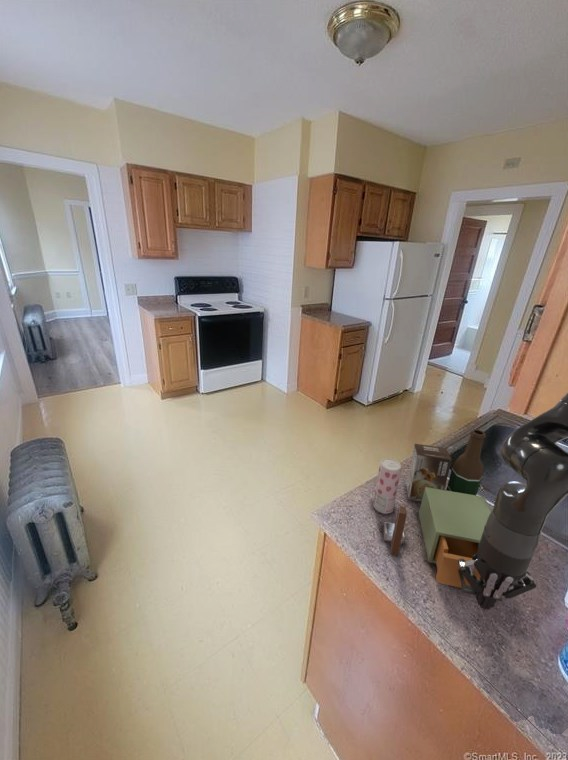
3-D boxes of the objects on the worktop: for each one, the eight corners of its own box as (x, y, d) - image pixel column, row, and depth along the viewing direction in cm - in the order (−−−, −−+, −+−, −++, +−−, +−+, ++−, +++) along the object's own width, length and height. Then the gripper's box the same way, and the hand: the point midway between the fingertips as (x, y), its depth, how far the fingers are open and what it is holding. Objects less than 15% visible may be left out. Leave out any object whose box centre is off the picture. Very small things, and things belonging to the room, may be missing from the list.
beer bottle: (457, 490, 100) (476, 422, 91) (479, 507, 93) (502, 436, 84) (438, 496, 97) (456, 427, 88) (459, 514, 91) (481, 442, 82)
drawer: (513, 620, 64) (525, 593, 61) (441, 603, 67) (449, 577, 64) (481, 541, 81) (489, 518, 78) (425, 531, 84) (431, 507, 81)
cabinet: (496, 576, 73) (508, 545, 70) (428, 562, 76) (436, 532, 73) (475, 524, 87) (484, 496, 84) (418, 514, 90) (425, 486, 87)
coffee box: (436, 491, 99) (447, 447, 93) (441, 506, 94) (453, 460, 88) (405, 486, 101) (414, 442, 95) (408, 500, 96) (417, 454, 90)
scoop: (401, 532, 84) (409, 492, 80) (404, 556, 78) (413, 515, 73) (383, 528, 85) (390, 489, 81) (384, 552, 79) (392, 511, 74)
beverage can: (397, 510, 92) (406, 467, 86) (382, 517, 89) (390, 472, 84) (383, 497, 96) (391, 455, 91) (368, 503, 94) (375, 460, 88)
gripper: (474, 548, 54) (451, 615, 61) (564, 565, 52) (530, 634, 58) (461, 515, 61) (442, 579, 67) (540, 529, 58) (513, 594, 65)
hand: (483, 604), depth 63 cm, fingers closed
